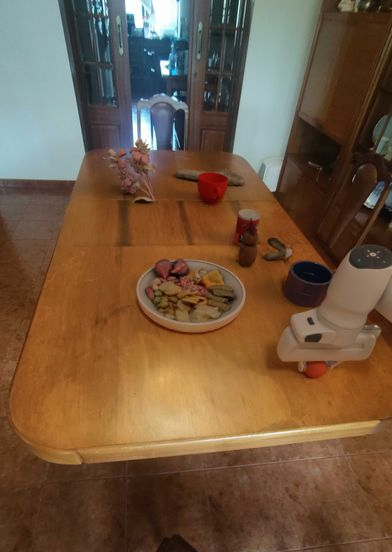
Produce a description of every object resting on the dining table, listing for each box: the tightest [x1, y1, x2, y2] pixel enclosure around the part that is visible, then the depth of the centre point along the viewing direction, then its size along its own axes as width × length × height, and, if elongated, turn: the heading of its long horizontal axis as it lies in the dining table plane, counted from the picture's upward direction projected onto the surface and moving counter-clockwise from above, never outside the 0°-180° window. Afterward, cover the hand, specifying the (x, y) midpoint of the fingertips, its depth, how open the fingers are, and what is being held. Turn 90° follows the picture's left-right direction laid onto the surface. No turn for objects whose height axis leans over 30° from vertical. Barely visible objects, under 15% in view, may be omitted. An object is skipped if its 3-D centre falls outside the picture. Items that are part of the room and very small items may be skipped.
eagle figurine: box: [262, 237, 295, 261], centre depth 109 cm, size 8×7×9 cm
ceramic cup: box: [197, 171, 228, 206], centre depth 136 cm, size 13×17×10 cm
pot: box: [282, 259, 335, 309], centre depth 94 cm, size 13×13×8 cm
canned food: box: [233, 208, 261, 248], centre depth 113 cm, size 8×8×11 cm
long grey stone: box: [175, 168, 246, 187], centre depth 158 cm, size 35×5×10 cm
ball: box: [304, 361, 327, 379], centre depth 73 cm, size 5×5×5 cm
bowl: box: [135, 258, 247, 333], centre depth 88 cm, size 30×30×8 cm
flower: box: [102, 138, 159, 204], centre depth 132 cm, size 20×22×25 cm
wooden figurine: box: [238, 218, 259, 268], centre depth 102 cm, size 7×6×15 cm
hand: (313, 369), depth 74 cm, fingers closed on ball, 5 cm apart
